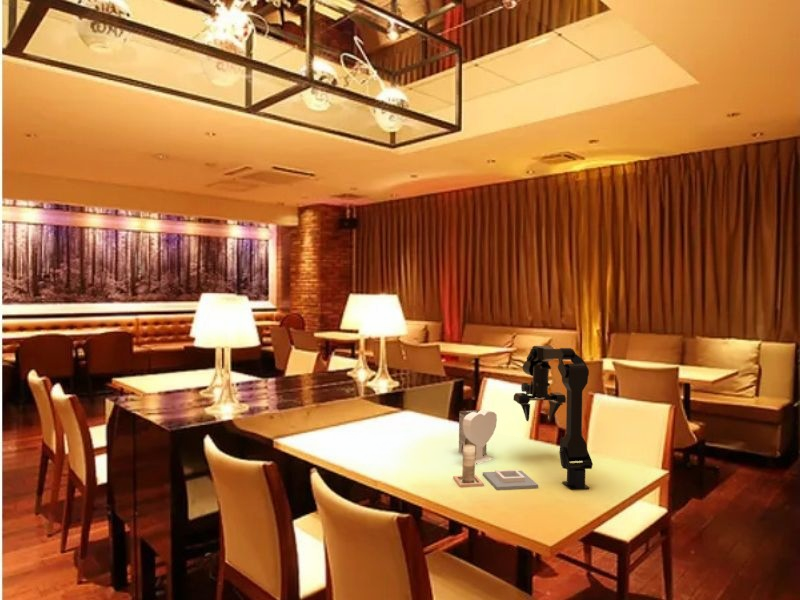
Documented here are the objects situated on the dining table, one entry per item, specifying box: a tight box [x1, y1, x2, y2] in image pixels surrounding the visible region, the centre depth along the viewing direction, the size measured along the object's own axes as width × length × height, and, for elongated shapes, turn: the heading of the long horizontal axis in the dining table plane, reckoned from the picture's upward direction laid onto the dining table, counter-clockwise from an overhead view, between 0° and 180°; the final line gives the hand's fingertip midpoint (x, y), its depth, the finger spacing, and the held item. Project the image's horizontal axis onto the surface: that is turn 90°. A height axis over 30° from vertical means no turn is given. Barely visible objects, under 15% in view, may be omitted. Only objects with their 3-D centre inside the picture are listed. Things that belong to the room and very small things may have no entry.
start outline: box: [452, 474, 485, 488], centre depth 189 cm, size 8×8×1 cm
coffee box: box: [458, 409, 487, 456], centre depth 221 cm, size 9×6×16 cm
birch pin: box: [461, 444, 476, 483], centre depth 189 cm, size 4×4×12 cm
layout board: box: [482, 469, 539, 491], centre depth 191 cm, size 14×14×2 cm
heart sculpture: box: [463, 409, 498, 465], centre depth 212 cm, size 16×5×18 cm, turn 134°
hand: (538, 420), depth 215 cm, fingers open, 9 cm apart
